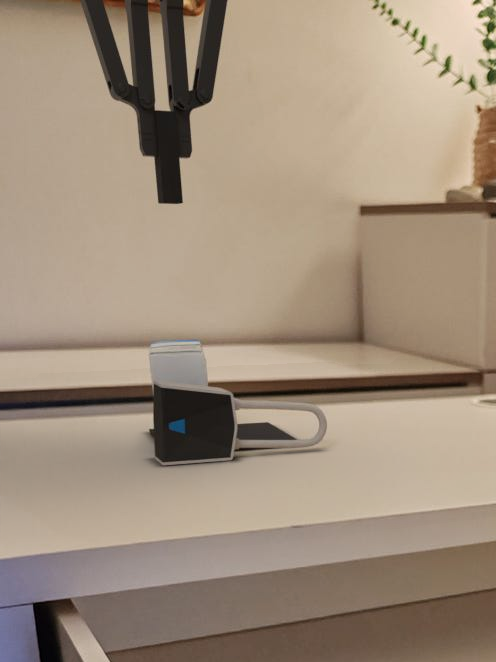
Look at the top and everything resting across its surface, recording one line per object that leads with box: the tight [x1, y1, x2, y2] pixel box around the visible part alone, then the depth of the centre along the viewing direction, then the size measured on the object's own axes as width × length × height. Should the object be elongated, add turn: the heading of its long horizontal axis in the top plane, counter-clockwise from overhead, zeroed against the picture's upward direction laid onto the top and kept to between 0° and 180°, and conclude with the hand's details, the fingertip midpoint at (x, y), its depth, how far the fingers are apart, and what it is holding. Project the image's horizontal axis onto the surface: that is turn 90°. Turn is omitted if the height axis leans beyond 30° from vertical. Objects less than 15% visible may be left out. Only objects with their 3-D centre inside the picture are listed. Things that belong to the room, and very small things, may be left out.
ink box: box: [148, 339, 209, 394], centre depth 97 cm, size 9×5×12 cm
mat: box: [148, 421, 298, 451], centre depth 100 cm, size 13×12×1 cm
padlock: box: [152, 380, 328, 466], centre depth 91 cm, size 7×4×15 cm
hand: (170, 202), depth 82 cm, fingers closed
